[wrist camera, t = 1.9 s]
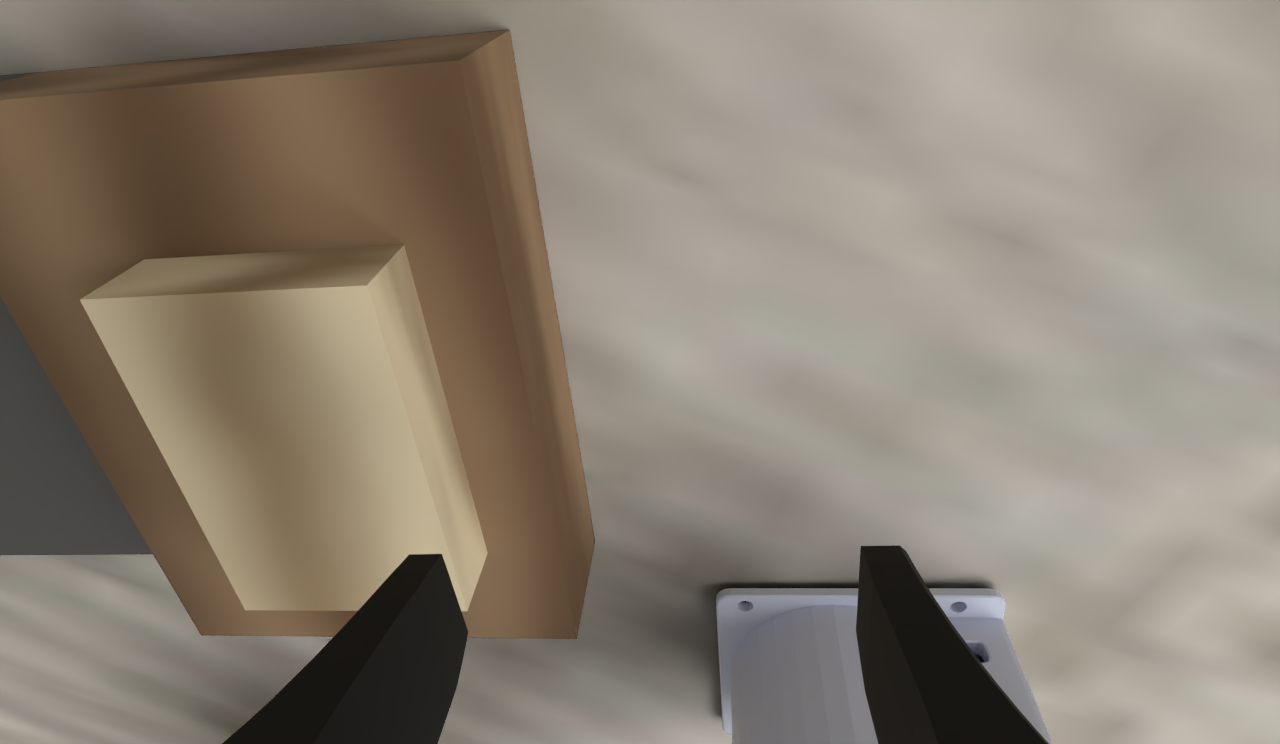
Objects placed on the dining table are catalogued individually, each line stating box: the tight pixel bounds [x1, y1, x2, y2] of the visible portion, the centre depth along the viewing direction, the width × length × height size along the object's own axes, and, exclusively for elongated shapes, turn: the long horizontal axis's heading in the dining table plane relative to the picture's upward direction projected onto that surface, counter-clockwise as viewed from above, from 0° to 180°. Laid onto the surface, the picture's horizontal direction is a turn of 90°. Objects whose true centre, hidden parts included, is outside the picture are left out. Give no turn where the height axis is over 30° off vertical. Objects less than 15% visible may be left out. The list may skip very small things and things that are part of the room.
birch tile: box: [80, 245, 488, 611], centre depth 18 cm, size 6×9×2 cm, turn 5°
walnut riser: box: [0, 30, 595, 639], centre depth 20 cm, size 12×16×4 cm
